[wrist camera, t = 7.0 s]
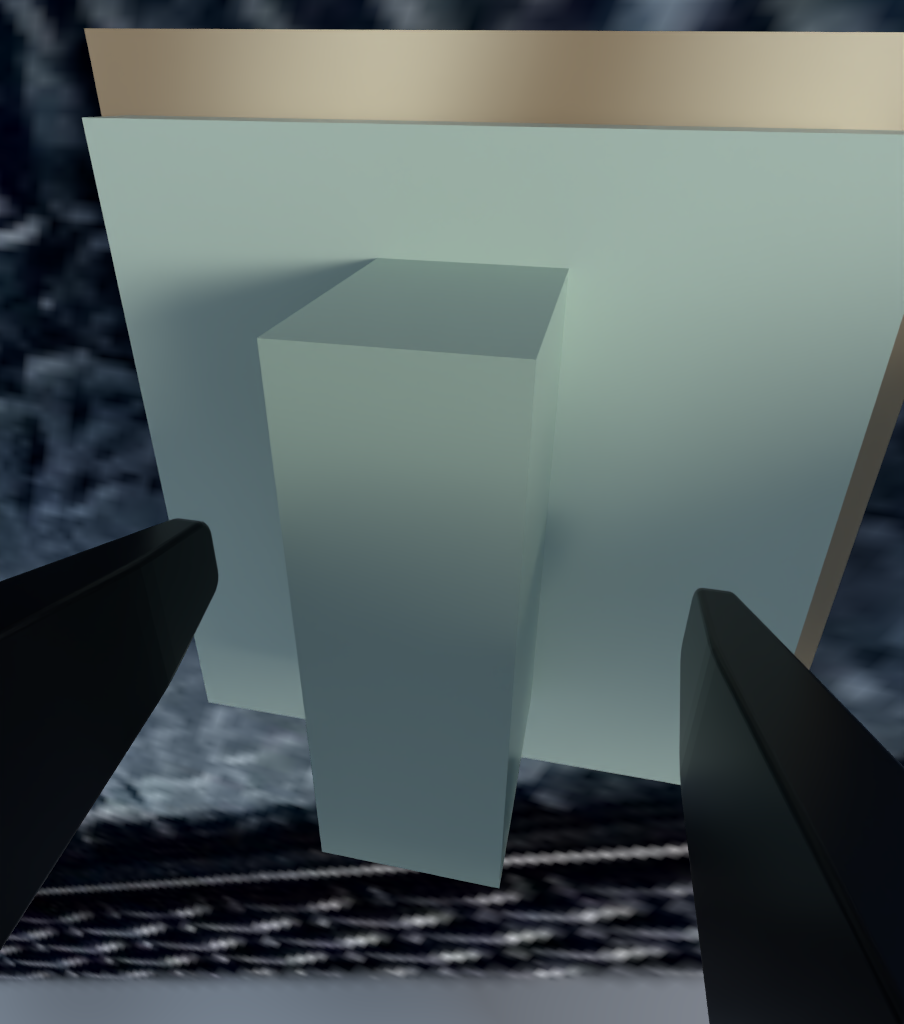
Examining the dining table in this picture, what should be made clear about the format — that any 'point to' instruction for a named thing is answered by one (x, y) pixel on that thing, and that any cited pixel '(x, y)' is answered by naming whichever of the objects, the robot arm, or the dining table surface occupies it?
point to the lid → (494, 425)
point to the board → (539, 115)
